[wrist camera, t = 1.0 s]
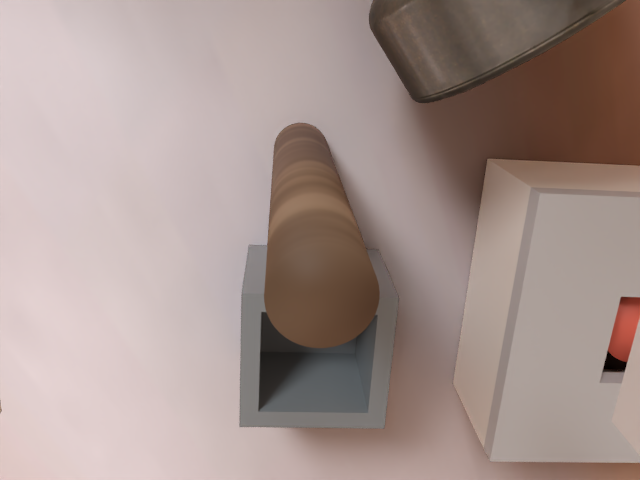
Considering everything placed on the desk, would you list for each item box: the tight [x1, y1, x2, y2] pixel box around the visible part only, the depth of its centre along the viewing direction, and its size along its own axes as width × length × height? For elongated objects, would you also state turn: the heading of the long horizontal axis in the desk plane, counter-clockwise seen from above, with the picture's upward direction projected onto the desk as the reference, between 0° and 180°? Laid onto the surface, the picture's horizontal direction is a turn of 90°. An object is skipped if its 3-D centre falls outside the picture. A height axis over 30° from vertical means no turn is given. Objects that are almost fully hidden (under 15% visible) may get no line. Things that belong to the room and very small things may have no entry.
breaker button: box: [608, 297, 640, 362], centre depth 31 cm, size 4×4×3 cm
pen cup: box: [240, 245, 399, 429], centre depth 32 cm, size 7×7×6 cm
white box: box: [453, 159, 640, 463], centre depth 32 cm, size 14×14×7 cm
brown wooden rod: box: [264, 123, 380, 348], centre depth 23 cm, size 3×3×18 cm
